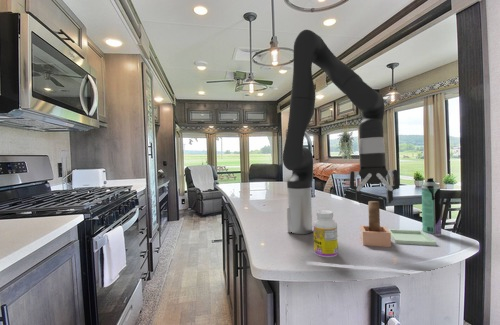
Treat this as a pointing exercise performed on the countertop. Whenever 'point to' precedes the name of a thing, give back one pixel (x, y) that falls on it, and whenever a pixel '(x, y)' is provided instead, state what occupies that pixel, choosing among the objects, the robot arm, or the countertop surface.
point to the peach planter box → (375, 237)
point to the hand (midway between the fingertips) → (374, 202)
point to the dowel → (374, 216)
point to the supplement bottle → (325, 234)
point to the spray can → (431, 208)
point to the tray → (411, 237)
